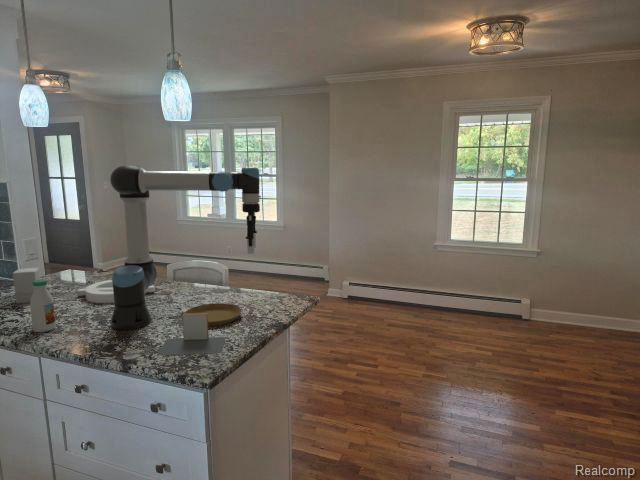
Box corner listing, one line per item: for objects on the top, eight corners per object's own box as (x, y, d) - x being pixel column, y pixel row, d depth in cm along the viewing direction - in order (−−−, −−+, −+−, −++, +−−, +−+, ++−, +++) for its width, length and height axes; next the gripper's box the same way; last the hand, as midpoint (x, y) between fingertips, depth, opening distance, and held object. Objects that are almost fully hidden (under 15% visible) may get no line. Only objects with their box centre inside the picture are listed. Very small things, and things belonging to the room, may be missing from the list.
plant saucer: (198, 308, 192) (197, 301, 192) (248, 310, 190) (248, 303, 189) (174, 327, 169) (174, 320, 168) (231, 331, 166) (231, 323, 166)
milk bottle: (38, 334, 160) (33, 284, 156) (29, 330, 164) (23, 281, 160) (59, 328, 166) (55, 280, 163) (50, 324, 170) (45, 277, 167)
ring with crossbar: (158, 292, 215) (157, 284, 215) (106, 307, 192) (105, 297, 191) (126, 284, 230) (125, 276, 229) (74, 297, 207) (73, 287, 206)
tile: (183, 340, 155) (182, 315, 153) (184, 339, 156) (183, 313, 154) (207, 339, 156) (207, 314, 154) (208, 338, 157) (207, 313, 155)
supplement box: (43, 296, 206) (40, 267, 203) (37, 301, 198) (34, 271, 195) (22, 297, 203) (19, 268, 201) (15, 303, 195) (11, 272, 192)
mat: (156, 356, 143) (156, 355, 142) (167, 339, 156) (167, 338, 156) (221, 354, 145) (221, 353, 145) (226, 338, 158) (226, 337, 158)
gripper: (258, 205, 170) (258, 256, 173) (260, 200, 194) (261, 245, 198) (239, 205, 169) (240, 256, 173) (244, 200, 193) (245, 245, 197)
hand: (251, 250), depth 185 cm, fingers open, 13 cm apart
